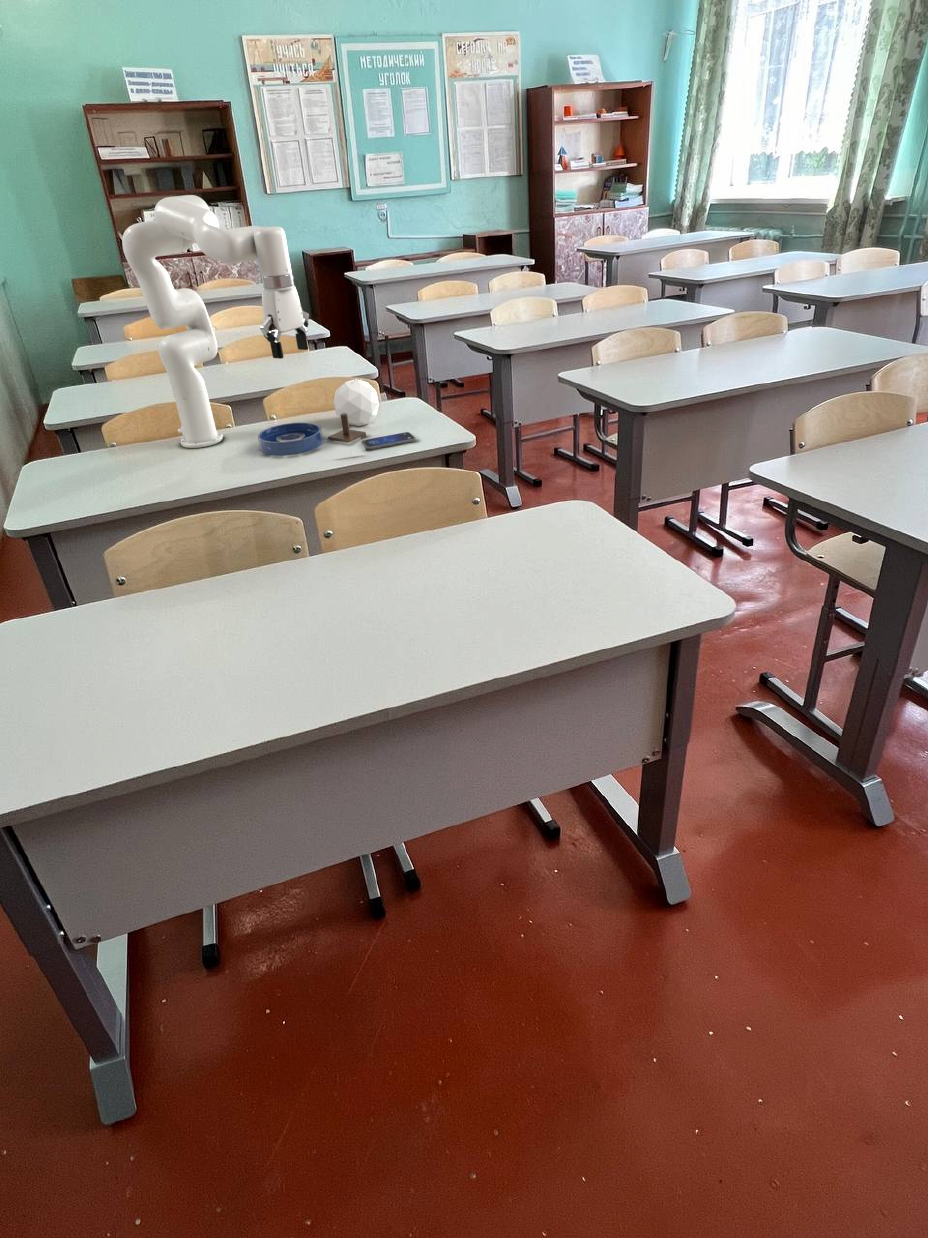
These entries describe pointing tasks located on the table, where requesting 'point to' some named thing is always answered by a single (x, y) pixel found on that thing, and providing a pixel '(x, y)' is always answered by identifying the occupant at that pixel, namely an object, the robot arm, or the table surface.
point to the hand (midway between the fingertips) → (291, 353)
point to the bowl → (291, 447)
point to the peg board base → (346, 432)
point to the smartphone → (388, 440)
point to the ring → (290, 437)
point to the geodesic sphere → (356, 402)
